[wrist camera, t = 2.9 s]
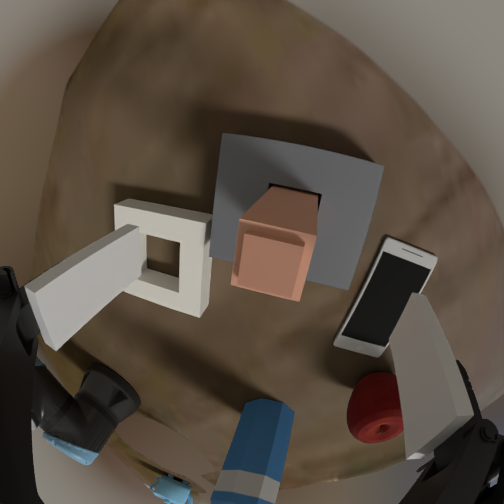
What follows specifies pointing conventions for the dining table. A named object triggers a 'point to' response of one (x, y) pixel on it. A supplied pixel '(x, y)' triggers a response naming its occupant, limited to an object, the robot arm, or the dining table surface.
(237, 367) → the dining table surface
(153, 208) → the white square frame
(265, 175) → the grey flat block
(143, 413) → the dining table surface
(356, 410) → the apple
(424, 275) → the smartphone
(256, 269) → the plug
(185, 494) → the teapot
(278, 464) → the water bottle
